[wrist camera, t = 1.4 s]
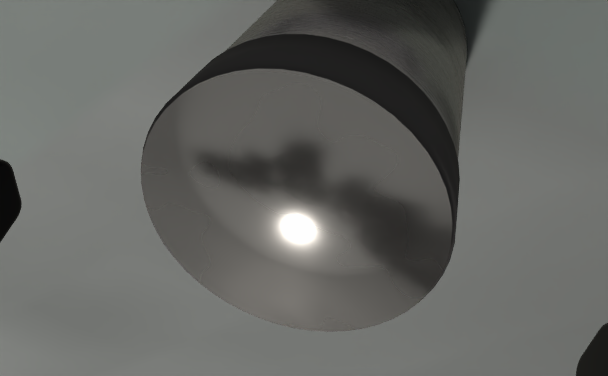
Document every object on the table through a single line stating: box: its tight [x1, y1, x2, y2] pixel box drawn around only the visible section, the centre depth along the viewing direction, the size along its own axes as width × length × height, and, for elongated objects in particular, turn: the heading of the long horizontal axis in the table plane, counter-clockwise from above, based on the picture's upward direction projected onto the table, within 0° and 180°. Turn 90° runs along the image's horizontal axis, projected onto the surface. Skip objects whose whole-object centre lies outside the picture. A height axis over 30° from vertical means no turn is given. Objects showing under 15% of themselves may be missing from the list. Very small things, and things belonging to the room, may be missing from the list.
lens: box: [141, 0, 467, 332], centre depth 11 cm, size 5×5×7 cm
